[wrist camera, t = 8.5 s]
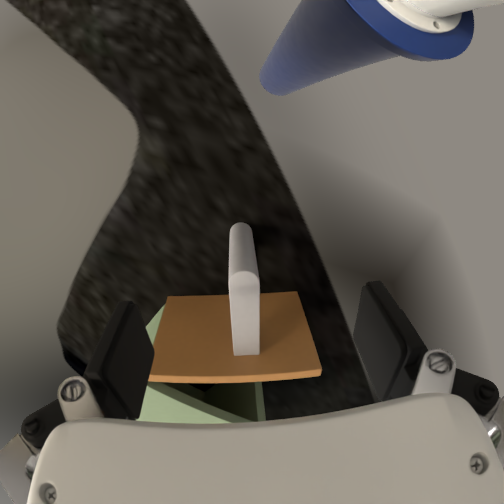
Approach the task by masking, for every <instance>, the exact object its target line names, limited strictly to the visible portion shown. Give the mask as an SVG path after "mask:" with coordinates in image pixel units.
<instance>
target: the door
mask: <svg viewBox="0 0 504 504" xmlns="http://www.w3.org/2000/svg"><path fill="white" fill-rule="evenodd" d="M153 348H154V351H155V356H154V360H153V364H152V368H151V372H150V376H149V380H148V381H151V382H171V383H241V382H261V381H275V380H287V379H297V378H306V377H315V376H320V375H321V371H322V367H321V364H320V361H319V357H318V354H317V351H316V348H315V345H314V342H313V339H312V335H311V332H310V329H309V326H308V323H307V320H306V317H305V314H304V311H303V308H302V305H301V302H300V299H299V296H298V293H297V292H280V293H261V294H260V281H259V274H258V268H257V261H256V254H255V248H254V241H253V235H252V230H251V227H250V226H249V225H248V224H246V223H237V224H235V225H233V226H232V228H231V229H230V245H229V295H208V296H168V298H167V302H166V305H165V308H164V311H163V315H162V318H161V321H160V325H159V328H158V332H157V335H156V339H155V342H154V346H153Z"/></svg>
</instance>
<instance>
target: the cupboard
mask: <svg viewBox="0 0 504 504" xmlns="http://www.w3.org/2000/svg"><path fill="white" fill-rule="evenodd" d="M165 305H166V304H165ZM165 305H164V306H163V307H162V308H161V309H160V311H159V312H158V313H157V314H156V315H155V317H154V318H153V319H152V320H151V321H150V323H149V324H148V325H147V326H146V330H147V332H148V335H149V338H150V340H151V343H152V345H153V346H154V342H155V339H156V335H157V332H158V328H159V325H160V321H161V318H162V315H163V311H164V308H165ZM136 421H148V422H164V423H190V424H217V423H245V422H260V421H266V419H265V410H264V400H263V391H262V382H241V383H216V384H215V385H214V386H212V387H211V388H209V389H208V390H207V391H205V392H204V391H202V390H200V389H197V388H195V387H193V386H191V385H189V384H187V383H171V382H151V381H148V384H147V388H146V392H145V396H144V400H143V405H142V409H141V413H140V417H139V419H136Z"/></svg>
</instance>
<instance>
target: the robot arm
mask: <svg viewBox="0 0 504 504" xmlns="http://www.w3.org/2000/svg"><path fill="white" fill-rule="evenodd" d="M377 1H378V2H379V3H380V4H381V5H382V6H383V7H384V8H385V9H386V10H388V11H389V12H390V13H391V14H392V15H394V16H395V17H396V18H398V19H399V20H401V21H402V22H404V23H406V24H407V25H409V26H411V27H413V28H415V29H418V30H421V31H423V32H428V33H443V32H448V31H450V30H452V29H454V28H455V27H456V26H457V25H458V24H459V22H460V20H461V15H462V12H465V11H469V10H473V9H478V8H482V7H487V6H492V5H498V4H504V0H377ZM353 336H354V341H355V344H356V346H357V348H358V351H359V353H360V355H361V358H362V360H363V363H364V365H365V367H366V370H367V372H368V375H369V377H370V380H371V382H372V385H373V387H374V390H375V392H376V395H377V397H378V399H379V400H382V401H383V402H380V403H375V404H371V405H366V406H362V407H357V408H352V409H347V410H342V411H337V412H331V413H326V414H320V415H313V416H306V417H299V418H291V419H282V420H272V421H260V422H245V423H217V424H190V423H164V422H148V421H136V419H139V417H140V413H141V409H142V405H143V400H144V396H145V392H146V388H147V384H148V380H149V376H150V372H151V368H152V364H153V360H154V356H155V351H154V348H153V345H152V343H151V340H150V338H149V335H148V332H147V330H146V327H145V324H144V322H143V319H142V316H141V314H140V311H139V308H138V306H137V304H134V303H133V302H132V301H119V302H118V303H117V305H116V307H115V309H114V311H113V313H112V315H111V317H110V319H109V321H108V323H107V325H106V327H105V329H104V332H103V334H102V335H101V337H100V339H99V341H98V344H97V346H96V348H95V350H94V352H93V354H92V357H91V359H90V361H89V363H88V366H87V368H86V370H85V373H84V375H83V377H79V376H73V377H70V378H68V379H66V380H65V381H63V383H62V384H61V385H60V387H59V388H58V393H57V394H58V399H57V400H55V401H53V402H52V403H50V404H48V405H46V406H45V407H43V408H41V409H39V410H37V411H36V412H34V413H32V414H31V415H29V416H28V417H26V419H25V420H24V421H23V423H22V427H21V432H22V434H21V435H19V434H18V433H17V434H16V435H15V436H14V437H13V438H12V440H10V442H8V443H7V445H6V446H4V447H3V449H2V450H1V451H0V483H1V484H2V486H3V487H4V489H5V490H6V492H7V493H8V495H9V496H10V498H11V499H12V501H13V502H14V503H15V504H504V396H503V397H502V399H501V398H500V397H499V391H498V388H497V387H496V385H495V384H494V383H493V382H491V381H489V380H487V379H484V378H481V377H479V376H476V375H473V374H471V373H468V372H465V371H462V370H460V369H457V368H456V361H455V359H454V357H453V356H452V355H451V354H450V353H449V352H447V351H445V350H443V349H431V350H429V351H428V349H427V347H426V346H425V345H424V343H423V341H422V340H421V338H420V336H419V335H418V333H417V332H416V330H415V329H414V327H413V326H412V324H411V322H410V321H409V320H408V318H407V317H406V315H405V313H404V312H403V311H402V310H401V309H400V308H399V306H398V305H397V303H396V302H395V301H394V299H393V298H392V296H391V295H390V293H389V292H388V290H387V289H386V288H385V286H384V285H383V283H382V282H381V281H373V282H368V283H366V286H363V287H362V292H361V298H360V303H359V309H358V314H357V319H356V324H355V329H354V334H353Z"/></svg>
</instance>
